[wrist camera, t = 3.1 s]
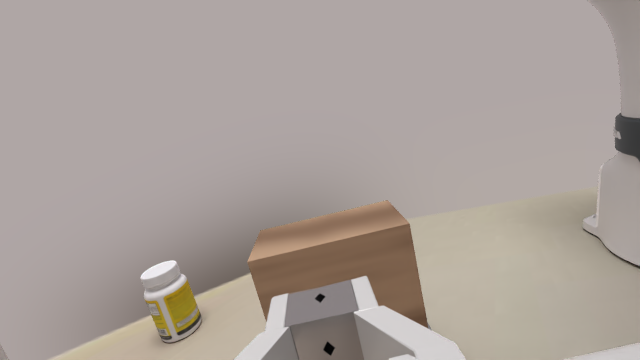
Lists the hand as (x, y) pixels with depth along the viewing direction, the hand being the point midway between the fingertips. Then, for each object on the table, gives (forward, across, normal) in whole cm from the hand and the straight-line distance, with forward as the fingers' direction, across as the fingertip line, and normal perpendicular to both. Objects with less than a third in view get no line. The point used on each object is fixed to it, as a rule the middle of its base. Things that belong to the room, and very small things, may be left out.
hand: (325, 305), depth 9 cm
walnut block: (+11, 0, +16) cm, 19 cm away
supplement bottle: (+25, +20, +16) cm, 36 cm away
